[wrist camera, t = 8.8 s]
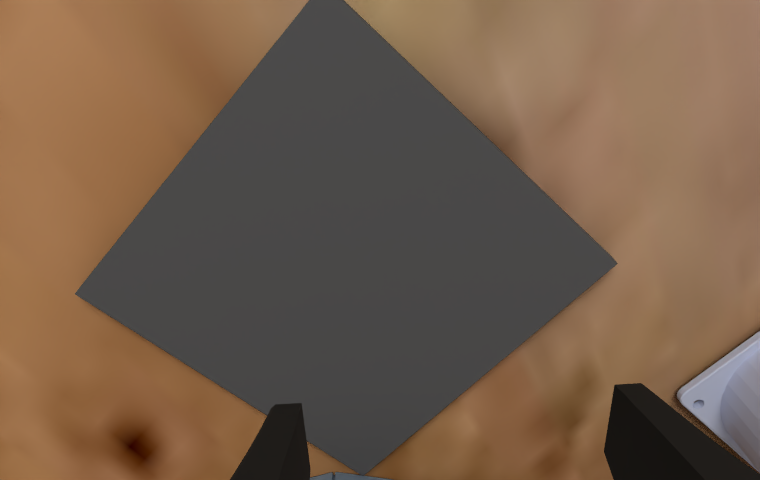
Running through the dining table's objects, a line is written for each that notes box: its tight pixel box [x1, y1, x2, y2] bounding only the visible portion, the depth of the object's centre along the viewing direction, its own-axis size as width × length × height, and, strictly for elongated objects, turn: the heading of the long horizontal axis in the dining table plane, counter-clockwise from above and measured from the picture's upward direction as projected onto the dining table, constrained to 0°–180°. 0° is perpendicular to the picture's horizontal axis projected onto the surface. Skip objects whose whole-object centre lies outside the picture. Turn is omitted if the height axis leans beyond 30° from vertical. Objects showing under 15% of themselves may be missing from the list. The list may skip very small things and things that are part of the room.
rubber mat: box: [75, 0, 617, 476], centre depth 23 cm, size 15×15×1 cm
